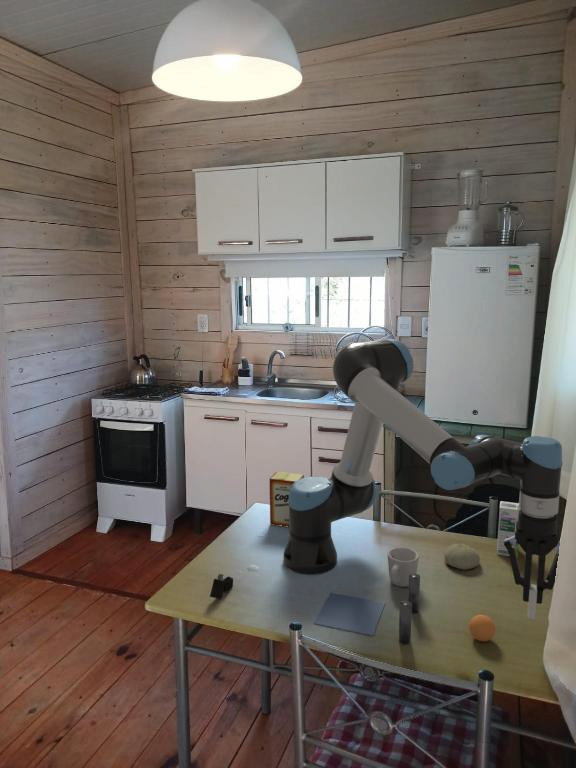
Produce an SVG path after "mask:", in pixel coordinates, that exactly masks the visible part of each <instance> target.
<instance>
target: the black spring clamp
mask: <svg viewBox="0 0 576 768" xmlns="http://www.w3.org/2000/svg"><path fill="white" fill-rule="evenodd" d="M232 587H233V588H234V577H231V576H229V575H228V576H227V577H224V574H221V573H219V574H218V575H217V578H214V579H213V582H212V587H211V590H210V594H209V597H210V598H214V599H221V598H222V599H223V595H224V593H228V592H230V591H231V590H232V589H233V588H232ZM231 588H232V589H231ZM230 589H231V590H230ZM229 590H230V591H229ZM222 599H221V600H222Z"/></svg>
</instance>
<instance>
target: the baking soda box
mask: <svg viewBox="0 0 576 768" xmlns="http://www.w3.org/2000/svg"><path fill="white" fill-rule="evenodd" d="M302 478H305V474H303V473H302V474H301V473H291V472H285V471H275V472H274V473H273V475H271V477H270V478H269V523H270V524H274V525H273V526H275V525H282V526H281V527H283V526H288V527H287V528H289V503H288V500H289V491H290V488H291V486H292V484H293V483H294V482H296V481H297V480H299V479H302ZM270 524H269V525H270Z"/></svg>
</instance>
